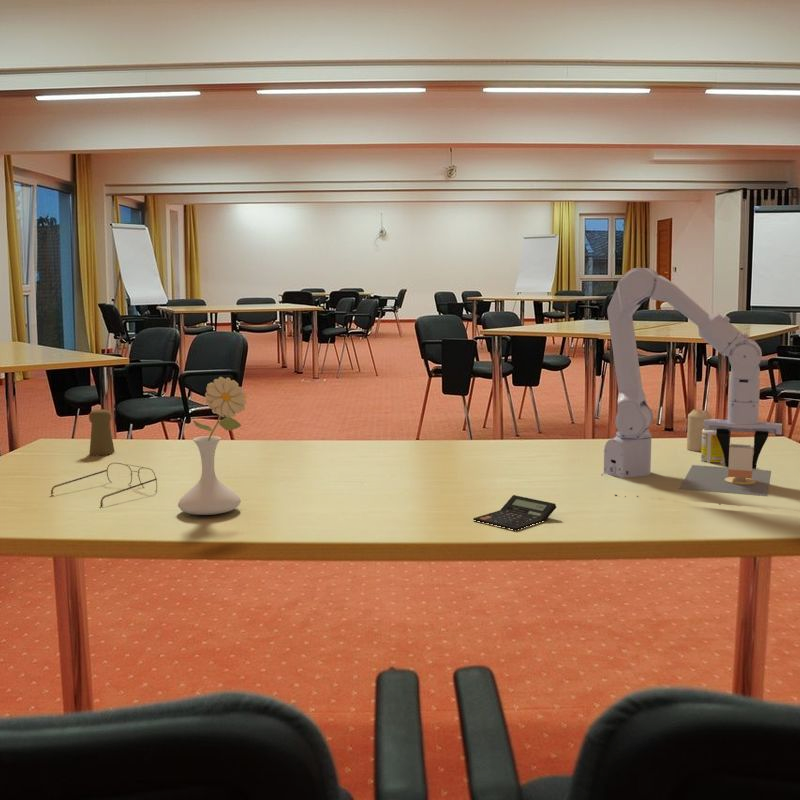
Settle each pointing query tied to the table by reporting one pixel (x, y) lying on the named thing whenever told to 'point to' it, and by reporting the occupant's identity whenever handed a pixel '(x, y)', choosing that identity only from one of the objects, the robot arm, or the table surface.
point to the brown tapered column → (101, 433)
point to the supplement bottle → (711, 447)
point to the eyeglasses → (110, 481)
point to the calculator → (519, 513)
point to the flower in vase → (209, 490)
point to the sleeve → (740, 460)
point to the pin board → (726, 481)
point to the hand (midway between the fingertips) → (740, 467)
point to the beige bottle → (696, 429)
